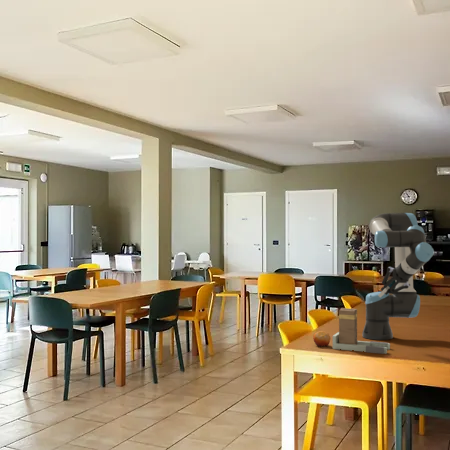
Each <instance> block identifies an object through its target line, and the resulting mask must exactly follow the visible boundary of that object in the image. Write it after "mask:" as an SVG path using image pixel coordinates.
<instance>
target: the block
mask: <svg viewBox="0 0 450 450" xmlns="http://www.w3.org/2000/svg"><path fill="white" fill-rule="evenodd" d="M338 326H339V327H338V332H339V343H341V344H353V345H357V341H358V309H357V308H341V309H339V310H338Z"/></svg>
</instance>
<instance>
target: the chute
mask: <svg viewBox="0 0 450 450" xmlns="http://www.w3.org/2000/svg"><path fill="white" fill-rule="evenodd" d="M332 349H333V350H340V349H341V351H352V350H354V352H363V351H364V352H365V353H370V354H371V353H372V354H379V355H380V354H383V355H384V354H385V355H387V353H388V350H391V343H389V342H386V341H385V342H384V341H383V342H381V341H374V340H372V341H366V340H365V341H362V340H357V345H353V344H341V343H339V331H337V332H336V333H335V334H333V335H332Z"/></svg>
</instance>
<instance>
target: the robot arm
mask: <svg viewBox="0 0 450 450" xmlns="http://www.w3.org/2000/svg"><path fill="white" fill-rule="evenodd" d="M418 224H419V223H418V220H417V217H416V215H415V214H414V213H411V212H389V213H388V212H384V213H379V214H377V215H375V216H373V217H372V218H371V219H370V221H369V223H368V229H369V231H370V233H371V234H372V235H374V245H375V246H376V247H377V248H394V262H395V263H394V267H392V266H391V265H390V266H388V267H387V269H386V273H385V275H384V277H383V279H382V282H381V284H382V285H383V286H382V287H381V288H380V291H375V292H370V293H367V295H366V296H365V324H364V327H363V330H362V338H364V339H368V340H373V341H375V340H376V341H387V340H392V339H393V338H394V335H393V330H392V327H391V324H390V318H407V319H409V318H410V319H411V318H416V317H417V316H418V315H419V313H420V308H421V297H420V295H419V294H417V291H416V290H415V288H414V275H415V274H416V273H417V272H418V271H419V270H420V269H421V268H422V266H424V265H425V264H427V262H429V261H430V260H431V258H432V257H433V256H434V255H435V250H434V248H433V246H432V245H430V244H429V243H428V242H427V238H426V234H425V230H424V228H423V227H422V226H420V225H418ZM391 273H392V277H391V278H390V275H391ZM389 278H390V279H389ZM393 281H395V282H394V283H393ZM392 283H393V284H392ZM390 284H392V285H391V286H390ZM390 293H391V294H390Z"/></svg>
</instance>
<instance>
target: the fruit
mask: <svg viewBox="0 0 450 450" xmlns="http://www.w3.org/2000/svg"><path fill="white" fill-rule="evenodd" d="M330 341H331V336H330V333H328V332H326V331H325V330H320V331H316V332H315V333H314V334H313V342H314V344H315V345H316V346H317V347H328V346H329V345H330Z"/></svg>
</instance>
